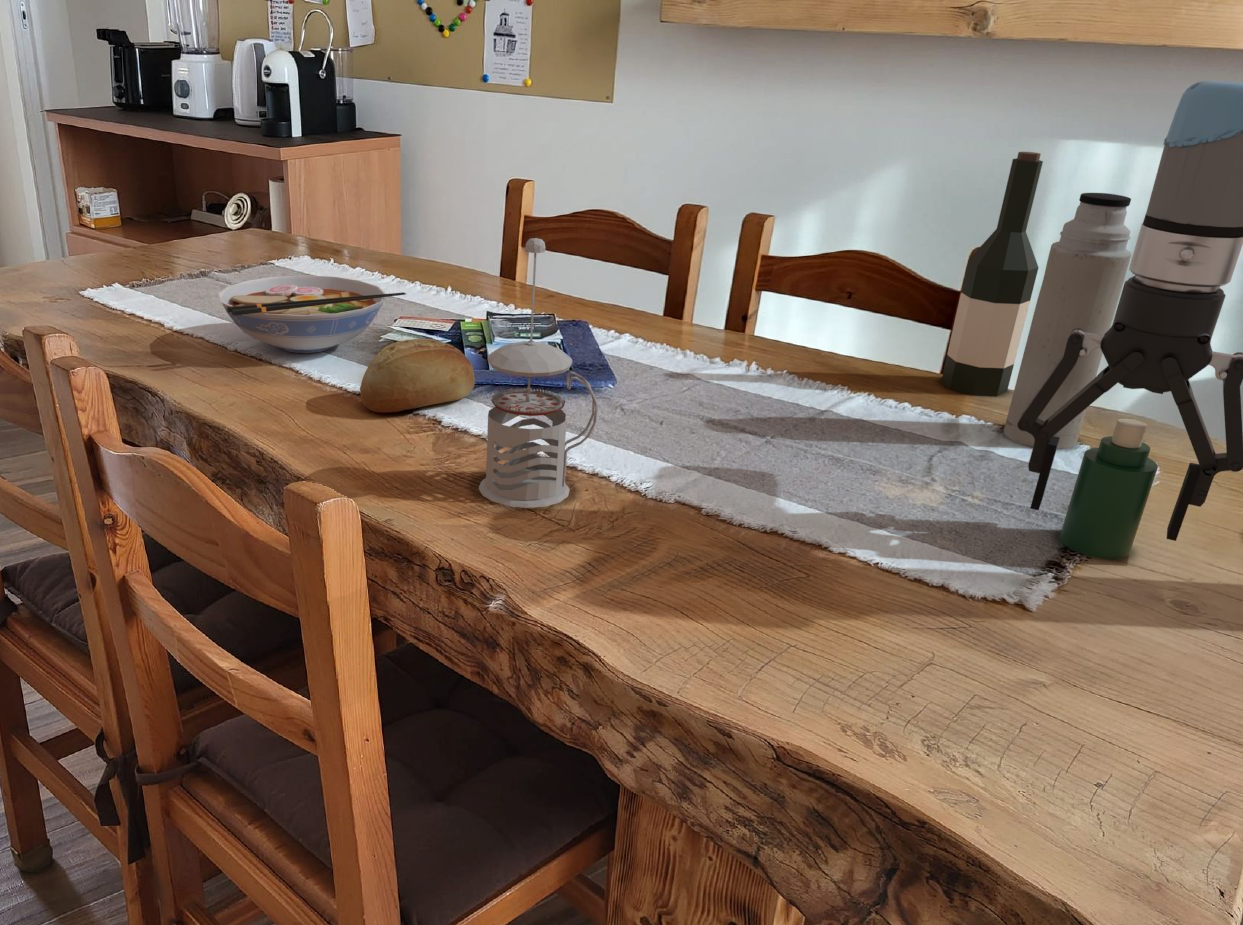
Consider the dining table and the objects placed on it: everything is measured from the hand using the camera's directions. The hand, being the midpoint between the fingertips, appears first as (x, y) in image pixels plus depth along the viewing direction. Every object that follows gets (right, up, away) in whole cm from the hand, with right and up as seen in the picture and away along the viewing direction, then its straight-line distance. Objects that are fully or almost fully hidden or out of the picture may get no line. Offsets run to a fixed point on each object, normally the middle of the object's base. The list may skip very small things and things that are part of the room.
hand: (1102, 519), depth 100 cm
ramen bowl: (-84, +25, +51) cm, 101 cm away
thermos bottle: (+8, +10, +28) cm, 30 cm away
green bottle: (0, -3, +1) cm, 3 cm away
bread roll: (-66, +15, +30) cm, 74 cm away
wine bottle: (+7, +19, +44) cm, 49 cm away
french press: (-53, +3, +8) cm, 54 cm away
